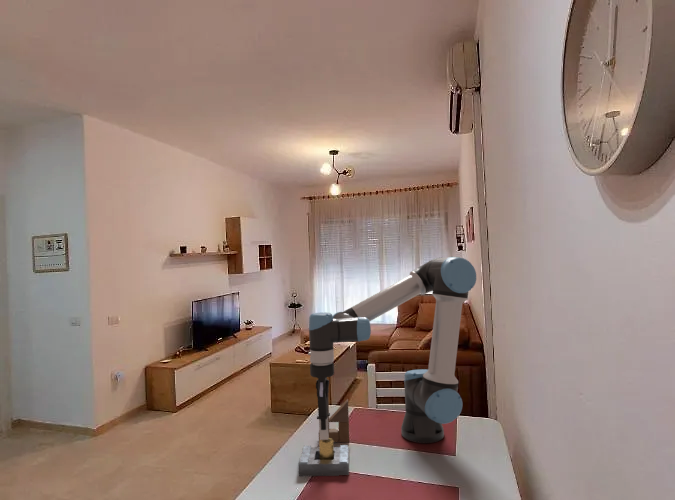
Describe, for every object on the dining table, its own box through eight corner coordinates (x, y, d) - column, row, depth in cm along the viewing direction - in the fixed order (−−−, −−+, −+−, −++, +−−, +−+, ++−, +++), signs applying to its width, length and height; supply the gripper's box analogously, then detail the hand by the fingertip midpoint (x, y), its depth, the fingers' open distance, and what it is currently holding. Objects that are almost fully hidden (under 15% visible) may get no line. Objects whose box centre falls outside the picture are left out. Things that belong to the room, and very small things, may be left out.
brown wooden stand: (349, 442, 143) (347, 391, 144) (318, 443, 144) (317, 391, 144) (349, 438, 147) (347, 387, 147) (319, 438, 147) (318, 388, 148)
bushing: (333, 463, 129) (333, 437, 129) (333, 470, 125) (333, 443, 125) (319, 463, 129) (319, 437, 129) (319, 470, 124) (319, 443, 125)
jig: (349, 457, 132) (348, 445, 132) (348, 475, 121) (348, 461, 121) (303, 458, 133) (302, 445, 133) (298, 476, 122) (298, 462, 122)
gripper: (312, 357, 134) (314, 430, 134) (307, 368, 121) (309, 448, 121) (334, 357, 134) (336, 429, 133) (332, 367, 121) (335, 448, 120)
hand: (324, 438), depth 127 cm, fingers closed
